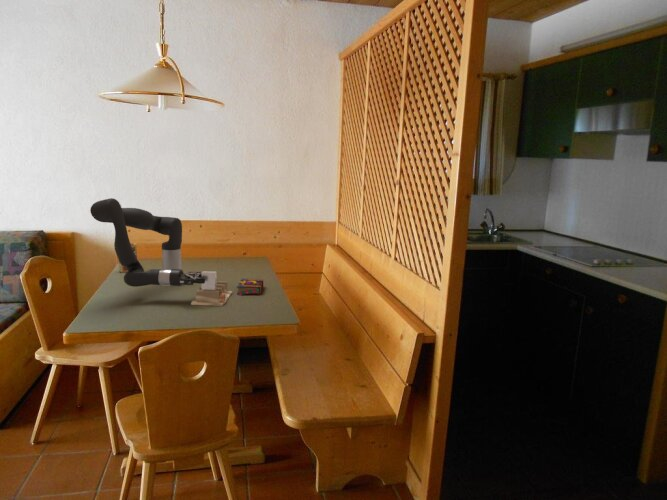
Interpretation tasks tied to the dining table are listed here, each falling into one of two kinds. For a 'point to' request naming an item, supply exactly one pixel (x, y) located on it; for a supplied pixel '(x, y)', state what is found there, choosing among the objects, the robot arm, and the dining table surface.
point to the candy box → (134, 247)
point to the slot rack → (213, 296)
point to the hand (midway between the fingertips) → (207, 278)
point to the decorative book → (250, 286)
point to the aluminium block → (209, 281)
